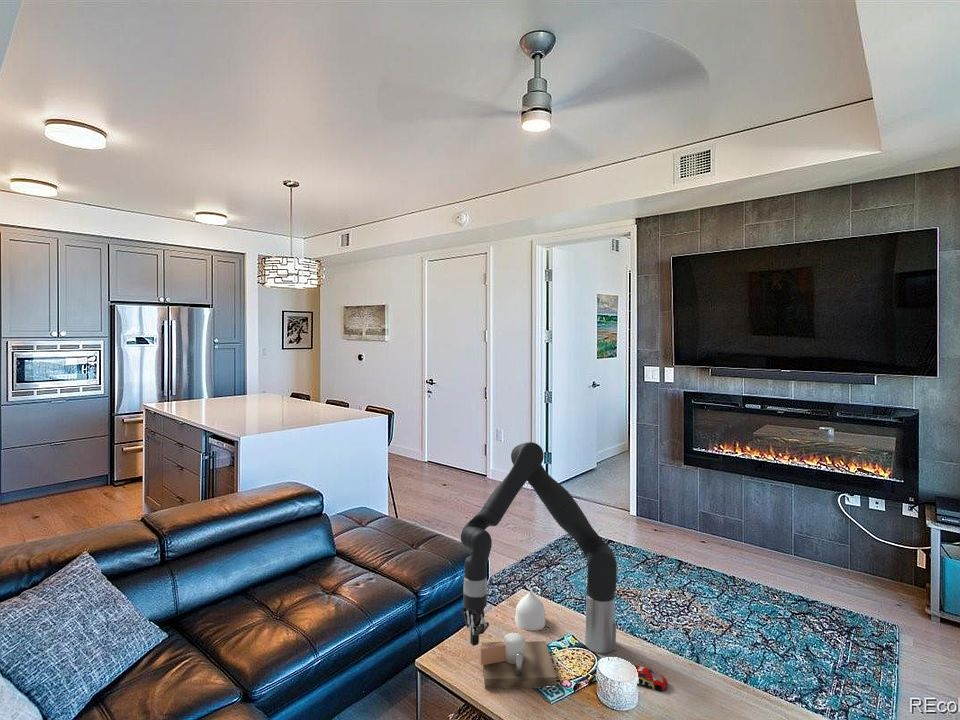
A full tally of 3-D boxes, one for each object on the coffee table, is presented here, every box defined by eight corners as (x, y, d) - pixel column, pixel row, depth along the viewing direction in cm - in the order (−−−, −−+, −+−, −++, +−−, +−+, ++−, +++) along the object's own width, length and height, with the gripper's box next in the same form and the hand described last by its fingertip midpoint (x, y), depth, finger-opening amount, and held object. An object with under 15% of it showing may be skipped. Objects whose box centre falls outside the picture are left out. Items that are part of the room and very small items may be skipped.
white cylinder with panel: (519, 649, 162) (520, 631, 162) (527, 662, 156) (527, 642, 156) (477, 657, 158) (477, 638, 158) (483, 670, 152) (483, 650, 152)
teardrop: (547, 616, 189) (547, 584, 188) (543, 632, 178) (544, 599, 178) (517, 612, 191) (518, 580, 191) (512, 628, 181) (513, 595, 180)
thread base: (545, 650, 168) (546, 623, 167) (556, 687, 150) (557, 657, 150) (481, 651, 167) (482, 624, 166) (485, 688, 149) (485, 658, 148)
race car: (668, 684, 153) (669, 670, 152) (666, 695, 148) (667, 681, 148) (623, 670, 158) (623, 658, 158) (620, 681, 153) (620, 668, 153)
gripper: (454, 584, 164) (453, 637, 165) (476, 602, 153) (475, 659, 154) (474, 579, 168) (473, 630, 169) (497, 596, 157) (496, 651, 158)
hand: (474, 644), depth 161 cm, fingers closed
